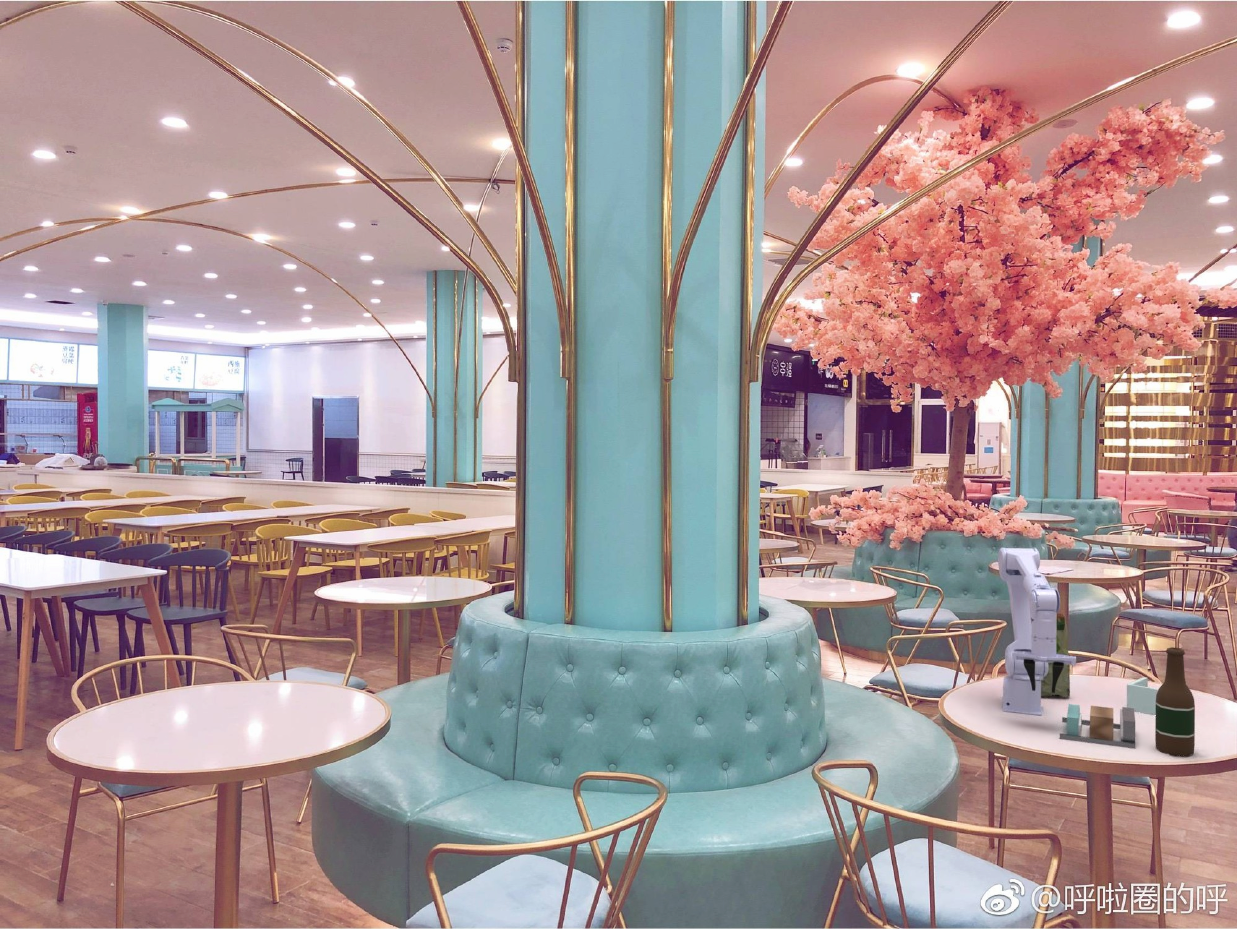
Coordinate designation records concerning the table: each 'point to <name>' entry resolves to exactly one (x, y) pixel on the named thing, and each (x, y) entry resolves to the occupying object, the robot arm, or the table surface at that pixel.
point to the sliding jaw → (1074, 720)
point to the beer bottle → (1175, 709)
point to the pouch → (1064, 678)
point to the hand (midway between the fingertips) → (1043, 690)
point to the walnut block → (1101, 722)
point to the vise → (1125, 728)
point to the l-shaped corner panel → (1141, 697)
